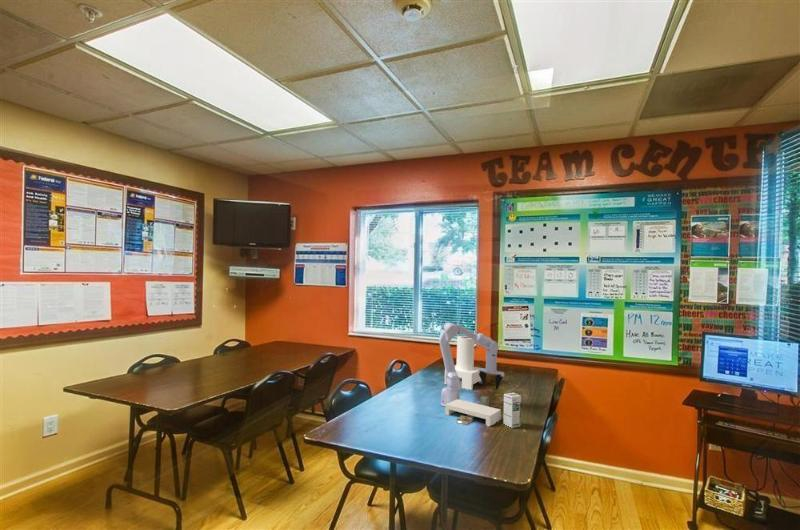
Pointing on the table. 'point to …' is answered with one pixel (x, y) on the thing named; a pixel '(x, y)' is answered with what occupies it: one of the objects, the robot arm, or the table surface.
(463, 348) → the white column on base
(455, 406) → the low shelf
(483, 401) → the gray rectangular block
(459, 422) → the steel disc
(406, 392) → the table surface
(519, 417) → the syrup box
